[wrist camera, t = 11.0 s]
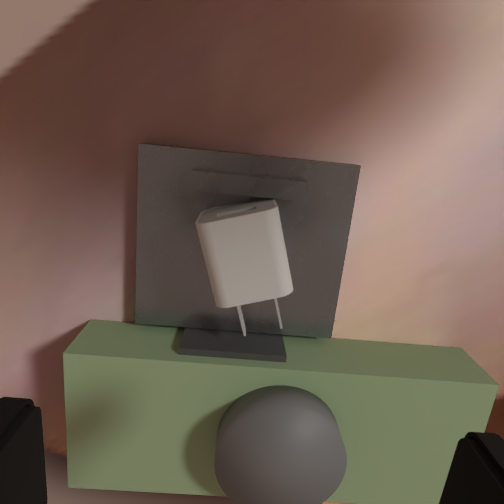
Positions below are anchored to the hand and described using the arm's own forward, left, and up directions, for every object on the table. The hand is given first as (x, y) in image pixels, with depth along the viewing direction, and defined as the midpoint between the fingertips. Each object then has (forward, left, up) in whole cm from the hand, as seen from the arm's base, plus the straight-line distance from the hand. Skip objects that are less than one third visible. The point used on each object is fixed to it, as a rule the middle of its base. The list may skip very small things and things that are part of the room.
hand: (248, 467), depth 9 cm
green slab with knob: (+9, +3, -16) cm, 18 cm away
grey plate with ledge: (0, 0, -16) cm, 16 cm away
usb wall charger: (0, 0, -15) cm, 15 cm away
